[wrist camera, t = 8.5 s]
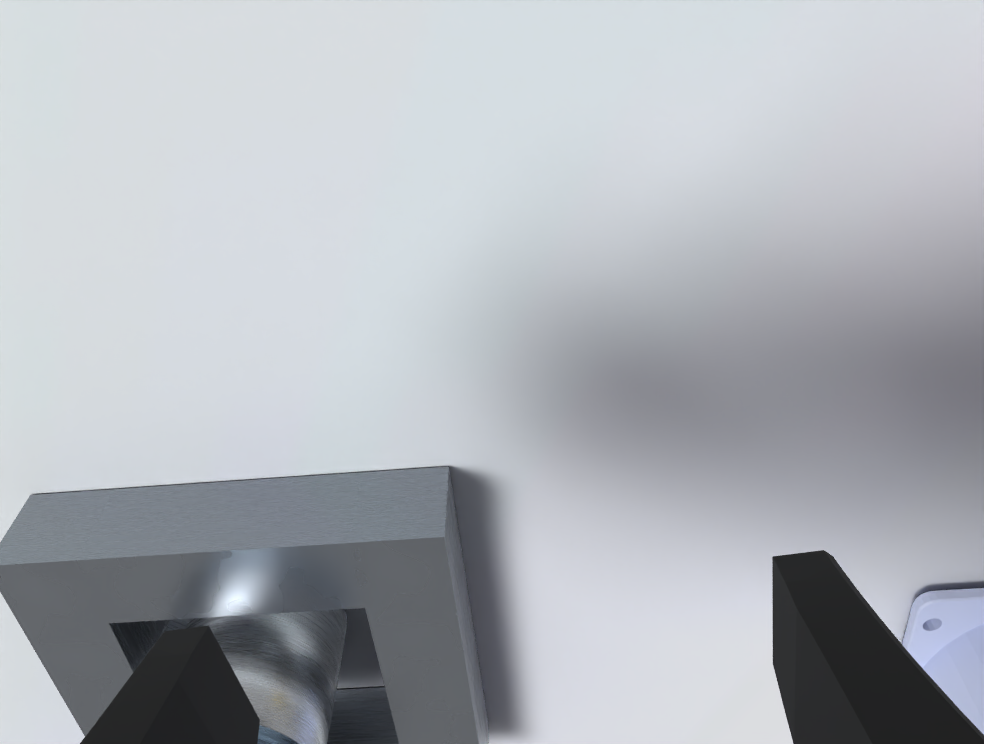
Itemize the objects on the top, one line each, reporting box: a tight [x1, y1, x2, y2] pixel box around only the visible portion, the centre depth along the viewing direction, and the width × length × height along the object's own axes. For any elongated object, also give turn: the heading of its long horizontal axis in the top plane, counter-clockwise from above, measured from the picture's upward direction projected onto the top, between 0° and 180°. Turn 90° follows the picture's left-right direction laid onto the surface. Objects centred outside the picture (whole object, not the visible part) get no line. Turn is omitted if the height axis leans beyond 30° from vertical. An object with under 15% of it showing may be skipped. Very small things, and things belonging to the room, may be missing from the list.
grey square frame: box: [0, 466, 489, 744], centre depth 25 cm, size 11×11×2 cm
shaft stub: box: [160, 609, 347, 744], centre depth 23 cm, size 5×5×6 cm
